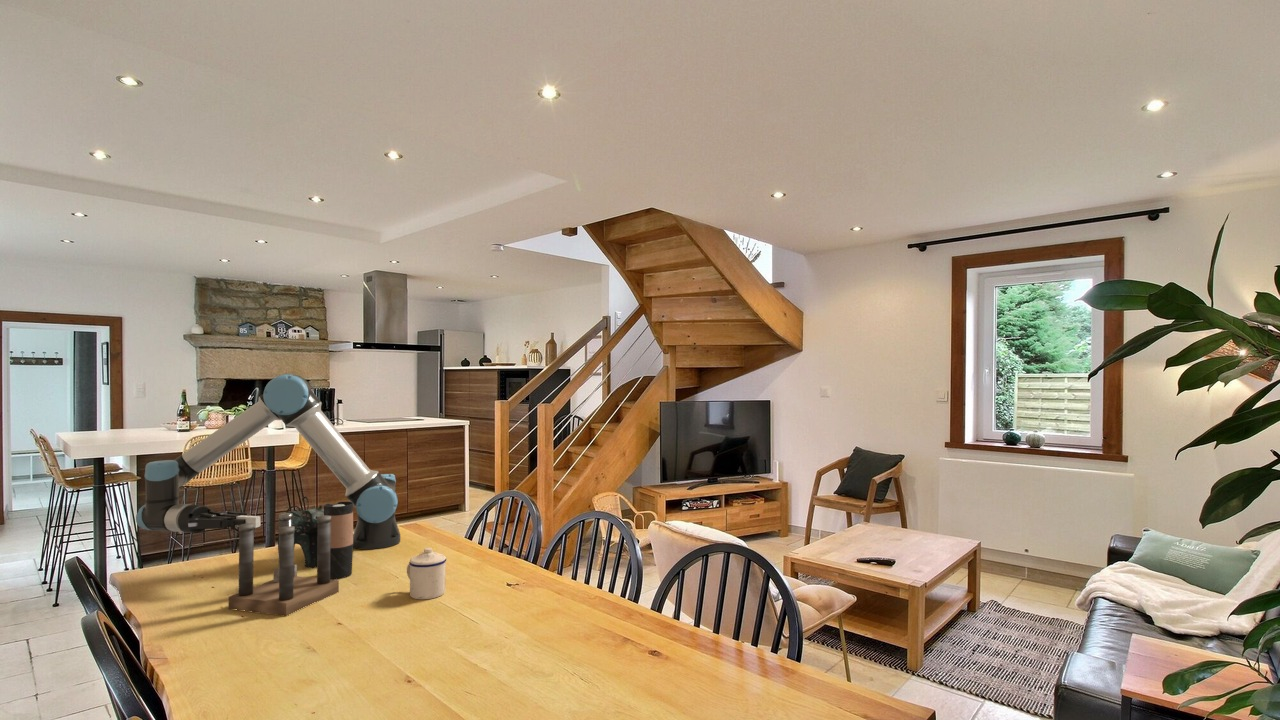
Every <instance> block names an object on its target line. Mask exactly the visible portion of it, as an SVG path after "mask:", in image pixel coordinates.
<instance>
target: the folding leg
mask: <svg viewBox="0 0 1280 720" xmlns="http://www.w3.org/2000/svg"><path fill="white" fill-rule="evenodd" d="M292 519H293V513H286V512H285V513H284V512H283V513H279V514H278V524H279V525H278V529H279V528H281V527H286V526H292ZM278 534H279V533H278ZM279 551H280V534H279Z"/></svg>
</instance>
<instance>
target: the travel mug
mask: <svg viewBox="0 0 1280 720" xmlns="http://www.w3.org/2000/svg"><path fill="white" fill-rule="evenodd" d="M323 510H324V516H331V534H330V580H341V579H345V578H348V577H350V576H351V575H353V574H352V573H353V558H354V557H353V555H354V554H353V553H354V552H353V551H354V547H353V534H354V506H353V503H352V502H350V501H338V502H337V503H335V504H334V503H333V504H331V503H330V502H328V503H325V504H324V505H323Z"/></svg>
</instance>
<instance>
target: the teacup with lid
mask: <svg viewBox="0 0 1280 720" xmlns="http://www.w3.org/2000/svg"><path fill="white" fill-rule="evenodd" d="M446 562H447V557H446V556H445V555H444V554H442V553H438V552H436V551H433V549H432V547H426V548H424V549H423V552H421V553H419V554H418V555H417V554H416V555H414V556H413V557H411V558H410V559H409V561H408V564H407V565H406V574H407V578H408V579H409V596H410V597H411V598H413V599H414V600H415V599H416V600H431V599H436V598H439V597H441V596H443V595H444V594H445V593H446Z"/></svg>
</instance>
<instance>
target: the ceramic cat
mask: <svg viewBox="0 0 1280 720" xmlns="http://www.w3.org/2000/svg"><path fill="white" fill-rule="evenodd" d="M305 499H306V502H307V508H306V509H302V508H300V507H299V506H298V505H292V506H290V507H288V508H287V510H286V512H285V513H293V519H292V526H294V527H295V532H294V548H295V547H296V545H298V546H300V548H301V550H302V552H303V555H304V567H305V568H309V569H315V568H317V535H318V523H317V517H319V516H324V508H323V506H322V504H320V505H319V506H317V508H316V507H315V505H312V507H311V508H310V507H309V498H308V497H307V496H303V497H302V498H301V501H302V502H303V501H304V500H305ZM294 508H297V510H291V509H294ZM309 508H310V509H309ZM290 510H291V511H290ZM277 551H278V553H279V533H278V534H277Z"/></svg>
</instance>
